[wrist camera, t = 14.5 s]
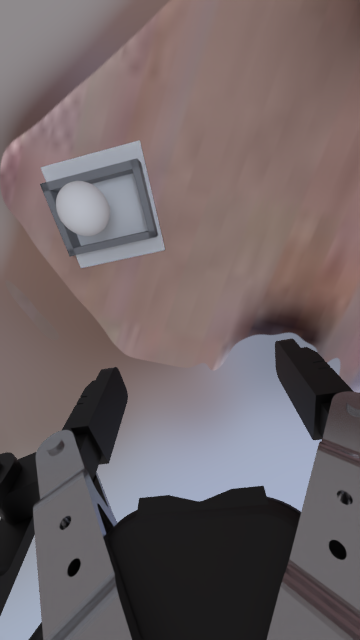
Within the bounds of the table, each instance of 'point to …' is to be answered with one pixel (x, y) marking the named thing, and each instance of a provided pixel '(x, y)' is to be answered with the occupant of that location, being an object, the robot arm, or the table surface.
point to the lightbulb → (82, 208)
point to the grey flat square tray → (123, 198)
